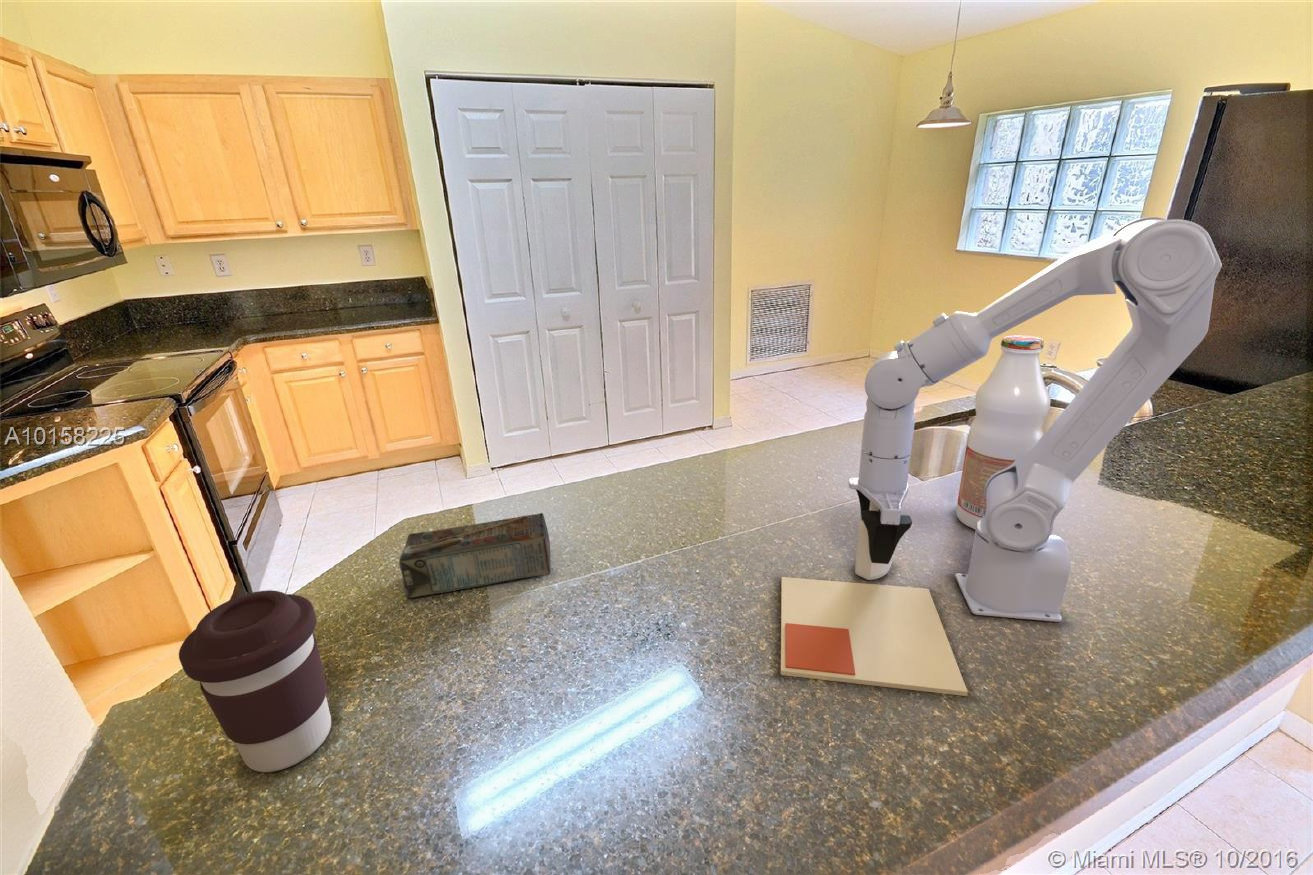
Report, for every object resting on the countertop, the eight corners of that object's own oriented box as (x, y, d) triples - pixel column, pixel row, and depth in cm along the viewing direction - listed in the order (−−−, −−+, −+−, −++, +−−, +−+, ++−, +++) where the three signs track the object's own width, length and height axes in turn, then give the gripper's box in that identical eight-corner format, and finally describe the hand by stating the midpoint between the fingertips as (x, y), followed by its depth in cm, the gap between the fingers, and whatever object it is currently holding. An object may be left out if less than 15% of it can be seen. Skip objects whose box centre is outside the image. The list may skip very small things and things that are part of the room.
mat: (927, 592, 72) (928, 587, 72) (967, 696, 57) (968, 690, 57) (781, 580, 76) (781, 575, 76) (780, 675, 60) (780, 669, 60)
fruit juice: (965, 534, 84) (997, 345, 74) (947, 504, 93) (974, 332, 83) (1036, 538, 83) (1079, 345, 73) (1011, 507, 91) (1046, 331, 81)
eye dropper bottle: (901, 577, 76) (912, 495, 71) (861, 582, 75) (869, 500, 70) (884, 559, 80) (893, 480, 75) (845, 564, 79) (852, 484, 75)
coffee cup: (265, 705, 60) (219, 583, 54) (363, 696, 60) (327, 574, 55) (202, 794, 50) (140, 658, 45) (319, 782, 51) (271, 646, 46)
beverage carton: (415, 568, 83) (406, 527, 80) (550, 547, 86) (545, 508, 84) (405, 601, 75) (395, 557, 73) (553, 576, 79) (548, 534, 77)
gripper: (846, 428, 78) (838, 517, 83) (858, 473, 65) (849, 574, 70) (901, 430, 77) (890, 520, 82) (925, 476, 64) (911, 579, 69)
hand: (875, 545), depth 76 cm, fingers open, 7 cm apart
